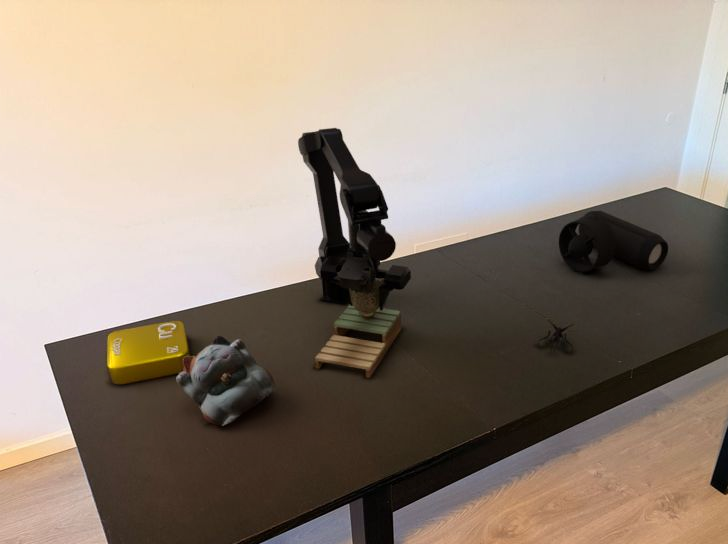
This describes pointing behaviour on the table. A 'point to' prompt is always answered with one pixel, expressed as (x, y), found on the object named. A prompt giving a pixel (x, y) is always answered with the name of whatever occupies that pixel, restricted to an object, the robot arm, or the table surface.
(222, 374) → the lucky cat figurine
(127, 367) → the element tile
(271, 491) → the table surface
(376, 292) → the ornate brown dome cover
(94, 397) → the table surface
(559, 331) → the creature
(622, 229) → the portable speaker
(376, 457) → the table surface
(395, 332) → the rack
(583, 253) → the black round hollow piece
